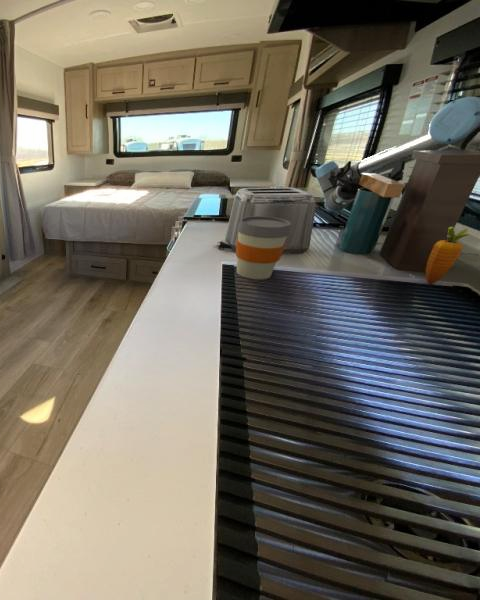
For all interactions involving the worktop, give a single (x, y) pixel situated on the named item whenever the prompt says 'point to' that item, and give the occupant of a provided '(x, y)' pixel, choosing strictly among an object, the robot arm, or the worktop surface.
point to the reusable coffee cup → (260, 245)
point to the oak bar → (381, 185)
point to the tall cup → (365, 222)
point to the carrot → (443, 256)
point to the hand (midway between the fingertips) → (375, 165)
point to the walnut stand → (430, 205)
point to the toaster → (275, 214)
